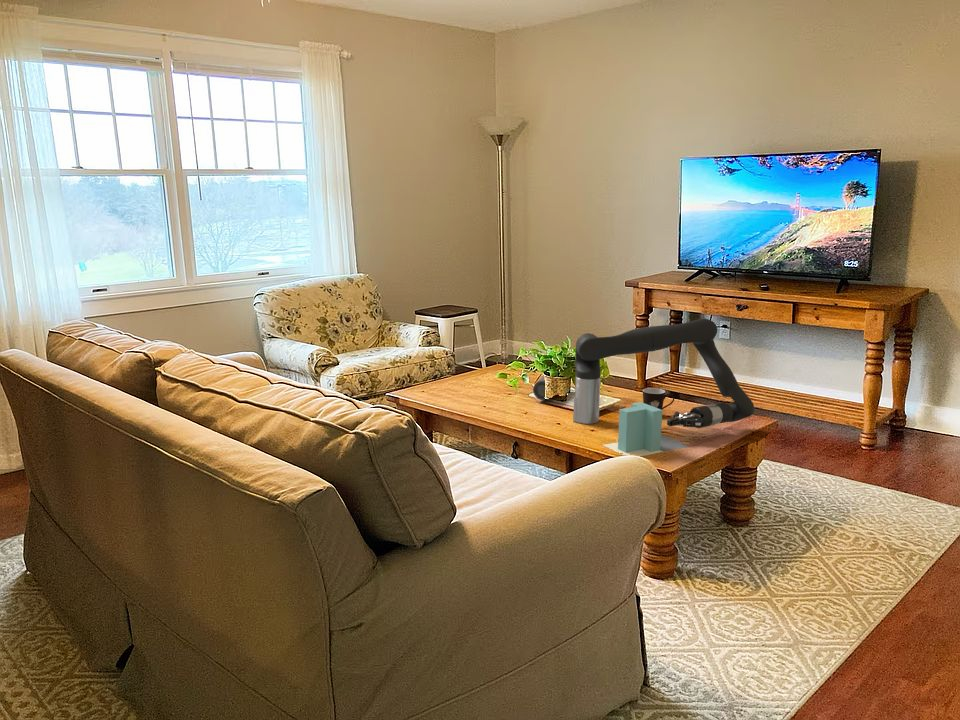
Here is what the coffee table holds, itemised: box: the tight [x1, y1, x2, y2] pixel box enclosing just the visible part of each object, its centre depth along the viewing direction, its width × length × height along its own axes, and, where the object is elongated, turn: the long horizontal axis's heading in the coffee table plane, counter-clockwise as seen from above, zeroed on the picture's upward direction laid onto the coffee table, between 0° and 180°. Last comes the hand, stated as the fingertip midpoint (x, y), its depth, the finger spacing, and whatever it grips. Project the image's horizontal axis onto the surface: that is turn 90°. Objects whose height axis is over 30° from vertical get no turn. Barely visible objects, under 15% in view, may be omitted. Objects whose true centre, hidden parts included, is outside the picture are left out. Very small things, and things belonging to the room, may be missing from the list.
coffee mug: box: [642, 387, 675, 411], centre depth 305 cm, size 12×9×10 cm
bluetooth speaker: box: [532, 376, 546, 401], centre depth 332 cm, size 23×9×10 cm, turn 157°
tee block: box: [617, 401, 663, 453], centre depth 265 cm, size 12×11×14 cm
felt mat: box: [602, 433, 691, 457], centre depth 270 cm, size 26×15×1 cm, turn 118°
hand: (668, 422), depth 272 cm, fingers closed
